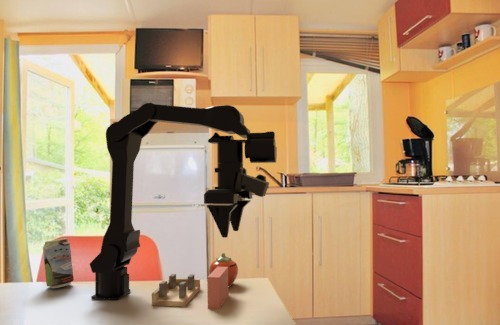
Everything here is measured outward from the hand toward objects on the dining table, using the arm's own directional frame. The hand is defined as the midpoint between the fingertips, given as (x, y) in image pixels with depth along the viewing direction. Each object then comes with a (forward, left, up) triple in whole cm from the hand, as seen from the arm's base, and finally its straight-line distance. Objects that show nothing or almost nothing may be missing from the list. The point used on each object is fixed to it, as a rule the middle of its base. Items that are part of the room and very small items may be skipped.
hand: (230, 234), depth 82 cm
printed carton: (-45, +5, -15) cm, 48 cm away
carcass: (-13, +1, -14) cm, 19 cm away
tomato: (-4, +11, -15) cm, 19 cm away
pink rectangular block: (-3, -1, -15) cm, 15 cm away
